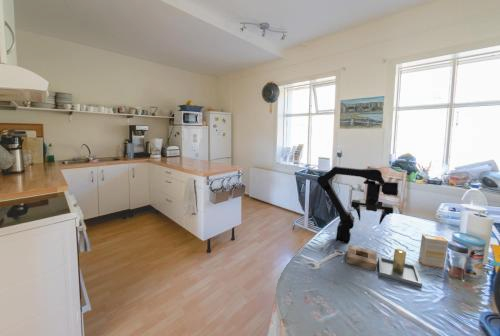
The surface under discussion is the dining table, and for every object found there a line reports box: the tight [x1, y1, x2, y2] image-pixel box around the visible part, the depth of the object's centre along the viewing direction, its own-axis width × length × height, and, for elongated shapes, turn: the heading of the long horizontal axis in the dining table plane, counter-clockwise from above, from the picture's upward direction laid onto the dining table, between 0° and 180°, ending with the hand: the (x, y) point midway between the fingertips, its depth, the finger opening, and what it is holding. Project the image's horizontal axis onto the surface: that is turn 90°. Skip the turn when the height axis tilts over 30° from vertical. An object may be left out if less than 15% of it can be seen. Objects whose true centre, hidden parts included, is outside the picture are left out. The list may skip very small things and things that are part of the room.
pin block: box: [345, 244, 378, 271], centre depth 102 cm, size 12×12×3 cm
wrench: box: [306, 249, 345, 271], centre depth 102 cm, size 25×2×5 cm
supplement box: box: [418, 233, 449, 269], centre depth 100 cm, size 8×5×13 cm, turn 71°
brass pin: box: [392, 248, 407, 274], centre depth 93 cm, size 4×4×9 cm
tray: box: [377, 255, 423, 289], centre depth 93 cm, size 14×14×2 cm
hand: (369, 222), depth 114 cm, fingers open, 9 cm apart
